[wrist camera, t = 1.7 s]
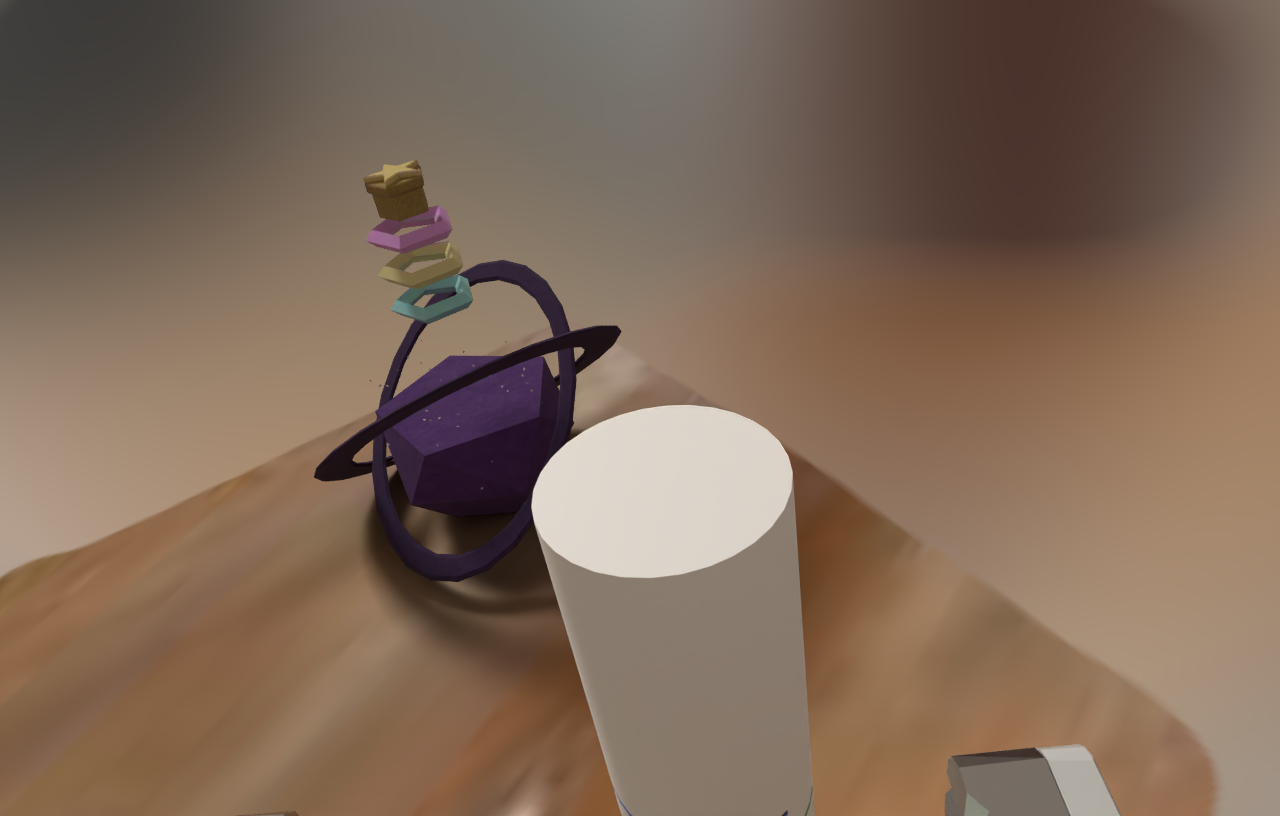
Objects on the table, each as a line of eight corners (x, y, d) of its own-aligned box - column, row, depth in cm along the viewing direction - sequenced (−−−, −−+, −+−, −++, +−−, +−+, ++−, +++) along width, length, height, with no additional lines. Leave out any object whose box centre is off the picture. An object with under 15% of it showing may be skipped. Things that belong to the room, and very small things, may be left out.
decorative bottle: (558, 377, 77) (488, 92, 62) (698, 489, 61) (647, 145, 47) (316, 491, 68) (171, 191, 54) (408, 655, 53) (240, 295, 39)
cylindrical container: (629, 892, 39) (494, 469, 25) (758, 808, 41) (701, 378, 27) (714, 1050, 34) (602, 624, 20) (857, 944, 36) (850, 494, 22)
